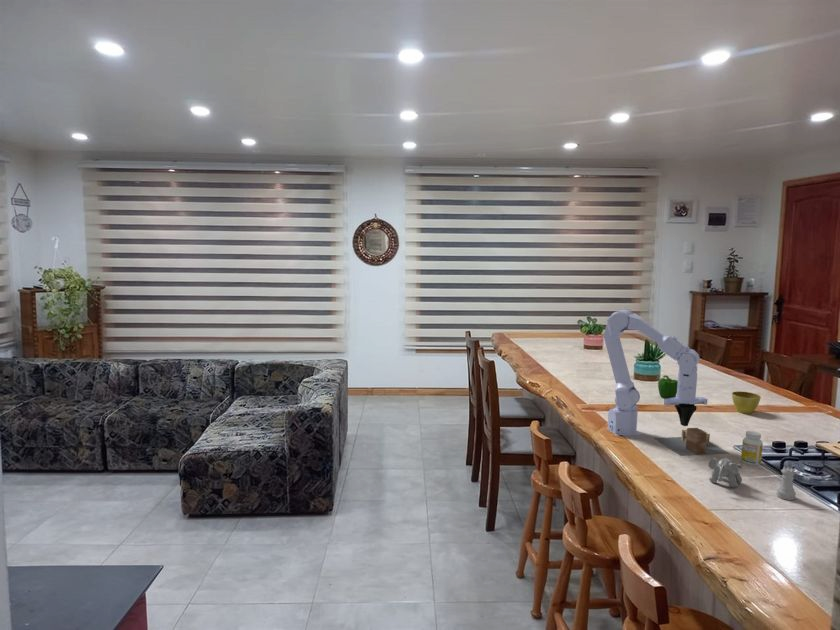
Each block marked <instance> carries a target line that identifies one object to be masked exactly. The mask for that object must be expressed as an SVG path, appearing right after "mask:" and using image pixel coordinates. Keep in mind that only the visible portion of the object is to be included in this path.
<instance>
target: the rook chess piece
mask: <svg viewBox="0 0 840 630" xmlns="http://www.w3.org/2000/svg"><path fill="white" fill-rule="evenodd" d="M780 472H781V473H782V475H781V478H782V479H781V482H780V483H781V484H780V485H779V487H778V488H777V490H776V496H777V497H778V498H780V499H781V500H785V501H794V500H796V499H797V497H796V495H797V492H796V490H795V489H794V480H795V478H794V476H795V475H796V471H795V469H794V468H793V467H791V468H790V467H789V466H787V467H786V466H783V468H782V469H780Z"/></svg>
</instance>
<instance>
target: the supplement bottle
mask: <svg viewBox="0 0 840 630" xmlns="http://www.w3.org/2000/svg"><path fill="white" fill-rule="evenodd" d="M761 438H762V434H761V432H758V431H754V430H747V431H746V432H745V437H743V439H742V444H741V446H742V447H741V456H740V459H741V460H740V462H743V463H744V464H748V465H751V466H753V465H754V466H759V465H761V463H762V454H763V444H764V443H763V440H761Z"/></svg>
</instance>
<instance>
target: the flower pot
mask: <svg viewBox="0 0 840 630" xmlns="http://www.w3.org/2000/svg"><path fill="white" fill-rule="evenodd" d="M731 396H732V398H731V399H732V403H733V406H734V407H735V409H736V411H737V412H739V413H740V414H748V415H751V414H753V412H754V411H755V410H756V409H757V407H758V405H759V403H760V402H761V398H762V396H761V395H759V394H757V393H755V392H751V391H750V392H749V391H739V390H738V391H731Z"/></svg>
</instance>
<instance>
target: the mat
mask: <svg viewBox="0 0 840 630" xmlns="http://www.w3.org/2000/svg"><path fill="white" fill-rule="evenodd" d="M681 438H682V436H676V437H675V436H674V437H672V436H671V437H654V438H653V440H656V441H657V442H658V443H660V444H661V445H663V446H665V447H666V448H667V449H670V450H671V451H673V452H674V453H676V454H678V455H679V457H680V456H681V457H683V456H686V457H687V456H701V455H702V456H703V455H722V454H723V455H724V454H726V455H727V454H729V452H728V451H727V450H725V449H723V448H722V447H719V446H717V445H715V444H714V443H712V442H710V441H709V444H706V450H705V454H694V453H692V452H690V451H689V450H687V449H686V442H685V441H683V440H681Z"/></svg>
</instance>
